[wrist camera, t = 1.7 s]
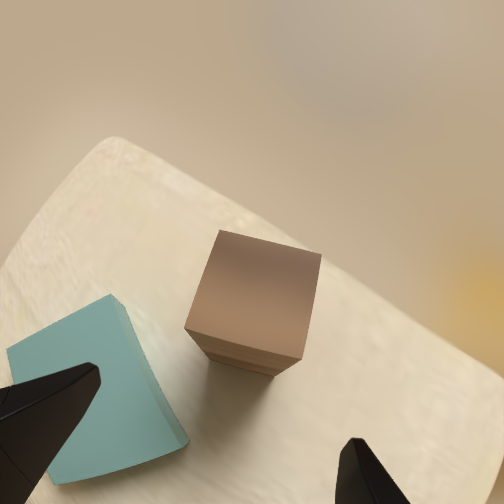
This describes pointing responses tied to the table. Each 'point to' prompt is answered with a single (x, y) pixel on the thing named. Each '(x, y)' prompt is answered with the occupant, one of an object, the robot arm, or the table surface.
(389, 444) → the table surface
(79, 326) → the teal plinth
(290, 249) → the walnut block
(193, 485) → the table surface
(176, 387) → the table surface
